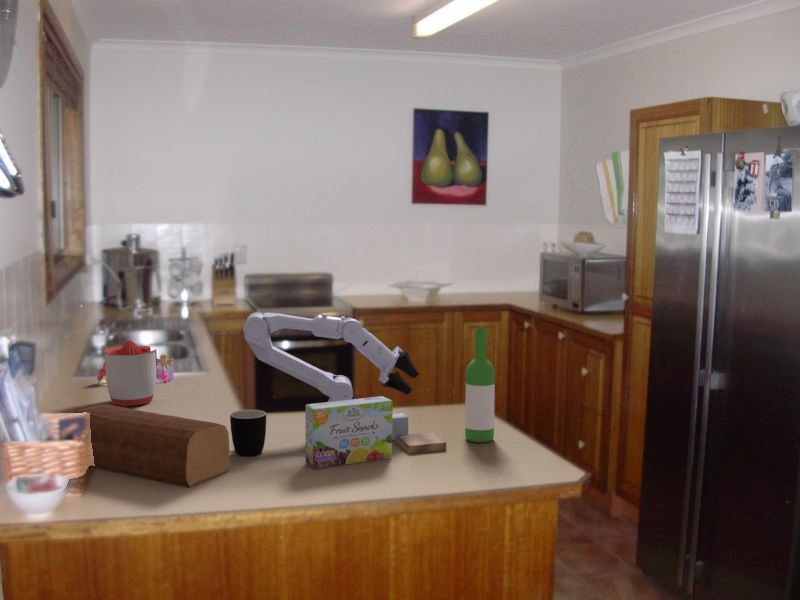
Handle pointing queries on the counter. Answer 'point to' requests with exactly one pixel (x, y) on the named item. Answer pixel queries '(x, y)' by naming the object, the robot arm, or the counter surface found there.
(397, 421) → the block
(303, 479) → the counter surface
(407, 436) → the base board
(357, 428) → the snack box
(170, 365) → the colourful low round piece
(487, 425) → the wine bottle
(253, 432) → the mug
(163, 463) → the bread
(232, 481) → the counter surface
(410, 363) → the robot arm
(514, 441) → the counter surface
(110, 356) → the citrus juicer
